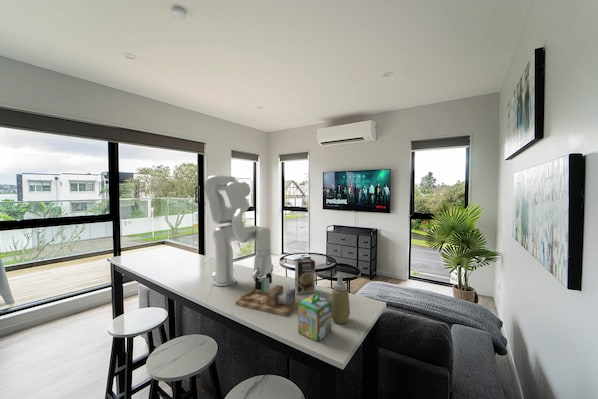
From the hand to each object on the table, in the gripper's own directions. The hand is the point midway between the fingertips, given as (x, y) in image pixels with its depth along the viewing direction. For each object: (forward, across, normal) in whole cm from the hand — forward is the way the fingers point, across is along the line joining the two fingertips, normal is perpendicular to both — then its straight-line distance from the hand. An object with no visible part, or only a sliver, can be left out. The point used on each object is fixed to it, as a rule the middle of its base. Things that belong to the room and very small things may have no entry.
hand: (263, 285), depth 128 cm
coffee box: (+4, -10, +18) cm, 21 cm away
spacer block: (+4, 0, -1) cm, 4 cm away
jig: (+4, +10, +9) cm, 14 cm away
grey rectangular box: (+2, +10, +16) cm, 18 cm away
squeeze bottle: (+4, +10, +42) cm, 44 cm away
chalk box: (+4, +22, +36) cm, 43 cm away
